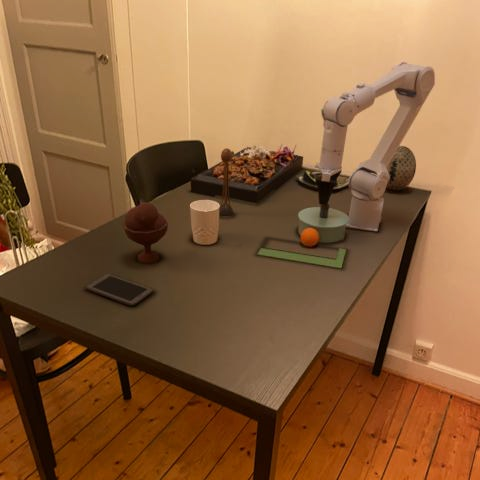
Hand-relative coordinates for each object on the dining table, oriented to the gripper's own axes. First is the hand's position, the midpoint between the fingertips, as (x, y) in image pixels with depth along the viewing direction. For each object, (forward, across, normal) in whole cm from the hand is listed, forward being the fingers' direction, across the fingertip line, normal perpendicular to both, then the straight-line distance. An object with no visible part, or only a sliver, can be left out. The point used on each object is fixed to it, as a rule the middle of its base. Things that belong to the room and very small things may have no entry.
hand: (325, 199), depth 129 cm
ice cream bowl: (+11, +30, -40) cm, 51 cm away
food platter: (+10, -39, -32) cm, 52 cm away
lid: (+6, 0, 0) cm, 6 cm away
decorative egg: (+10, -47, +19) cm, 52 cm away
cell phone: (+11, +47, -39) cm, 62 cm away
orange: (+8, +9, -2) cm, 12 cm away
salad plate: (+10, -43, -6) cm, 45 cm away
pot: (+10, 0, 0) cm, 10 cm away
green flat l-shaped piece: (+10, +13, -3) cm, 17 cm away
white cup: (+11, +15, -30) cm, 35 cm away
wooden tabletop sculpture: (+11, -4, -30) cm, 32 cm away
